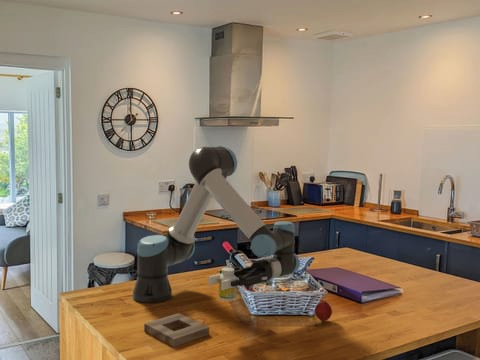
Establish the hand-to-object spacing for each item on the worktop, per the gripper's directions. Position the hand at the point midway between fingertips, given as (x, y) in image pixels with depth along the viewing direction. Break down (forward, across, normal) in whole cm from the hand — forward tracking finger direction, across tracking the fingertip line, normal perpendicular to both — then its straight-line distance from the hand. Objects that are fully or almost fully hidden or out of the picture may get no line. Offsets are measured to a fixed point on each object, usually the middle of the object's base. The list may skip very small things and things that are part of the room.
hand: (215, 283), depth 151 cm
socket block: (+7, +11, -18) cm, 22 cm away
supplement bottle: (-5, 0, -6) cm, 8 cm away
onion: (-37, -15, -18) cm, 44 cm away
